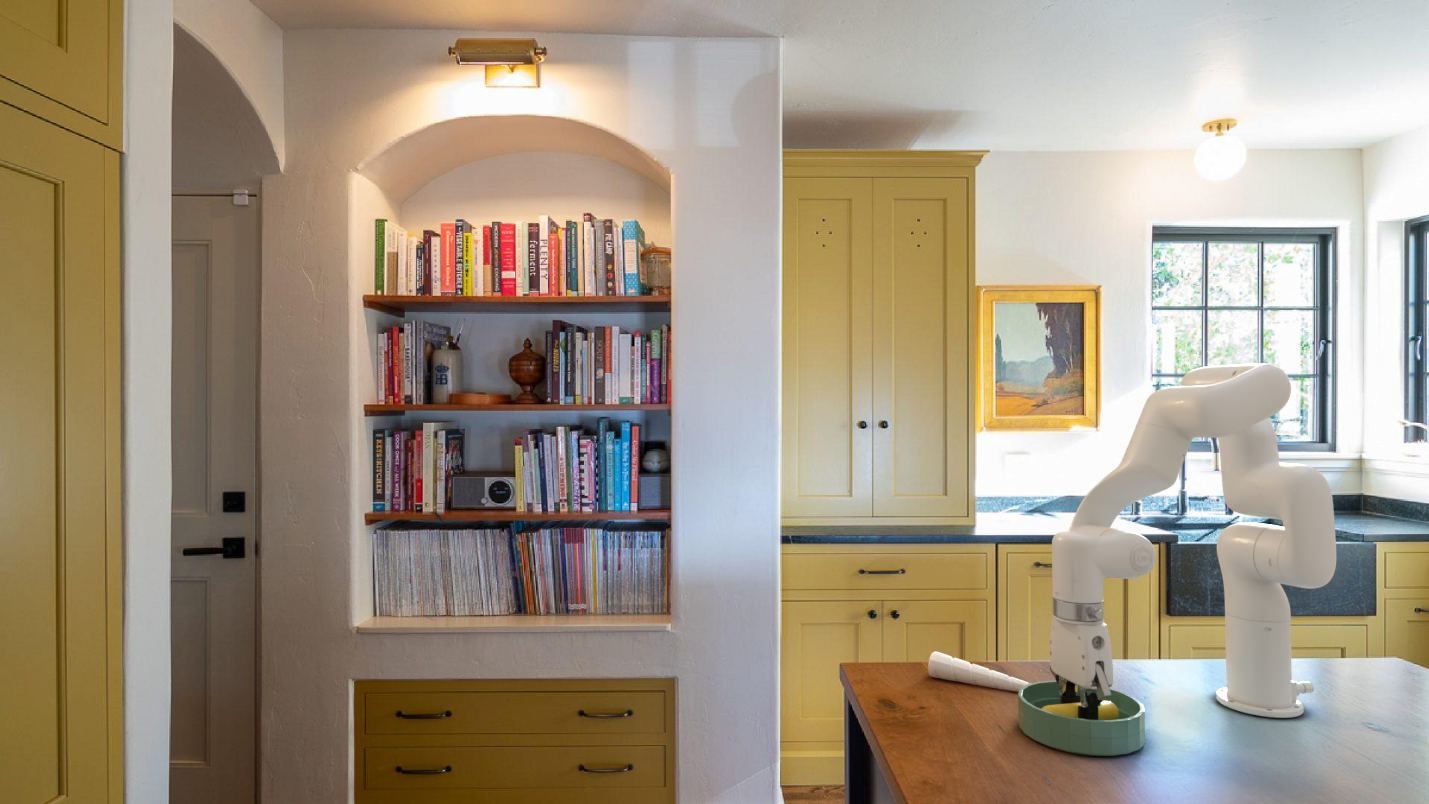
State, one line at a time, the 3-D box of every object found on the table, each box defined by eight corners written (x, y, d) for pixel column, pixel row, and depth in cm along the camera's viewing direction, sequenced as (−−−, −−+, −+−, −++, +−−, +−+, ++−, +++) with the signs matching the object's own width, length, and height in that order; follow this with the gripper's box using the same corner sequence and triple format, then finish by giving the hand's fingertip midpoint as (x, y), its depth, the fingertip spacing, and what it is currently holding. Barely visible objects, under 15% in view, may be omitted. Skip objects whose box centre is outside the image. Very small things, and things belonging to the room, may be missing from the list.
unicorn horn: (1054, 705, 141) (1053, 677, 141) (925, 679, 156) (925, 654, 156) (1061, 697, 145) (1061, 670, 145) (935, 672, 160) (935, 648, 160)
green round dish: (1092, 709, 139) (1092, 677, 139) (1172, 752, 121) (1172, 715, 122) (997, 718, 136) (996, 685, 136) (1065, 764, 118) (1064, 726, 118)
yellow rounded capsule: (1109, 718, 132) (1108, 696, 132) (1124, 726, 128) (1124, 704, 128) (1034, 725, 129) (1034, 702, 129) (1048, 734, 125) (1047, 710, 125)
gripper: (1135, 621, 121) (1137, 744, 121) (1066, 597, 138) (1067, 705, 137) (1091, 624, 120) (1093, 748, 120) (1026, 599, 136) (1027, 709, 136)
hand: (1079, 724), depth 129 cm, fingers closed on yellow rounded capsule, 3 cm apart
